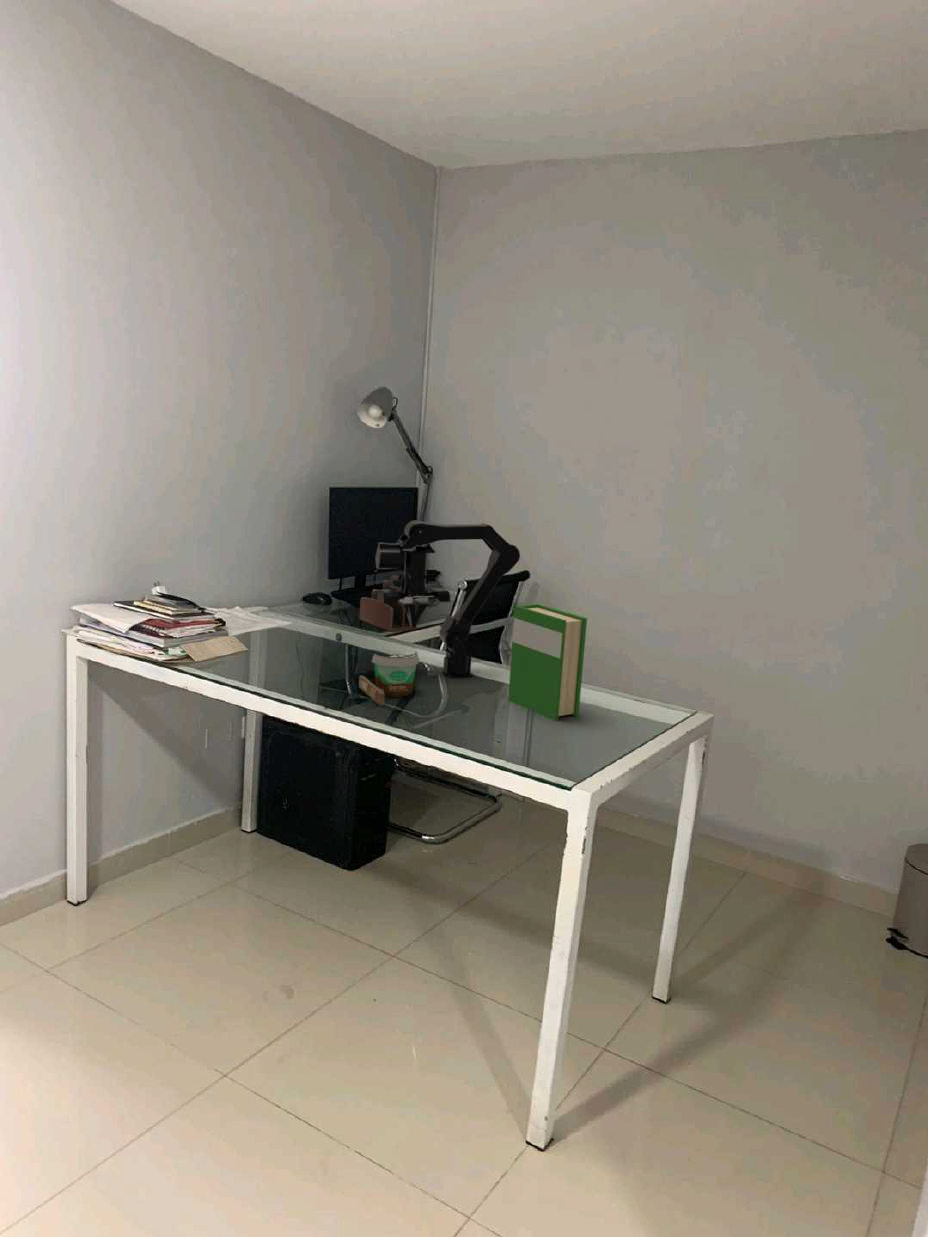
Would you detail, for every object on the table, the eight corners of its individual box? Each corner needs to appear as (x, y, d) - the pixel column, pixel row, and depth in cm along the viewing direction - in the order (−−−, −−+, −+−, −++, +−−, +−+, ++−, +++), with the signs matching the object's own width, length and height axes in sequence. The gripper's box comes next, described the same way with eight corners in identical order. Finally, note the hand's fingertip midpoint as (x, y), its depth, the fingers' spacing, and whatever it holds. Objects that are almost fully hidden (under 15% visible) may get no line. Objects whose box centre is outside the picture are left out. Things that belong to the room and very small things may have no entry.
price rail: (362, 687, 235) (363, 675, 235) (384, 705, 221) (384, 693, 220) (358, 687, 235) (358, 675, 234) (379, 706, 220) (379, 693, 220)
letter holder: (383, 617, 319) (385, 577, 316) (416, 630, 303) (418, 587, 300) (358, 620, 313) (360, 578, 310) (390, 632, 297) (392, 589, 294)
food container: (380, 700, 225) (381, 660, 223) (370, 692, 231) (372, 653, 229) (426, 695, 231) (428, 656, 229) (415, 688, 236) (417, 650, 234)
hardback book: (578, 716, 222) (587, 618, 217) (555, 720, 218) (563, 620, 213) (531, 696, 236) (538, 603, 231) (508, 700, 231) (514, 605, 226)
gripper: (436, 564, 254) (433, 619, 257) (371, 564, 246) (369, 622, 249) (452, 570, 244) (449, 628, 247) (385, 571, 236) (383, 631, 240)
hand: (412, 627), depth 246 cm, fingers closed
